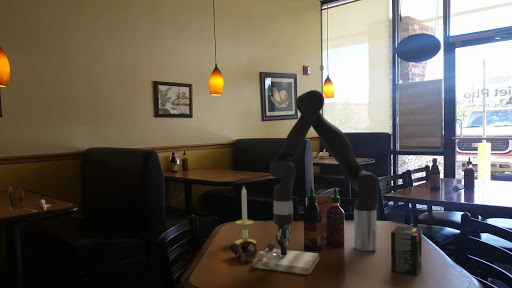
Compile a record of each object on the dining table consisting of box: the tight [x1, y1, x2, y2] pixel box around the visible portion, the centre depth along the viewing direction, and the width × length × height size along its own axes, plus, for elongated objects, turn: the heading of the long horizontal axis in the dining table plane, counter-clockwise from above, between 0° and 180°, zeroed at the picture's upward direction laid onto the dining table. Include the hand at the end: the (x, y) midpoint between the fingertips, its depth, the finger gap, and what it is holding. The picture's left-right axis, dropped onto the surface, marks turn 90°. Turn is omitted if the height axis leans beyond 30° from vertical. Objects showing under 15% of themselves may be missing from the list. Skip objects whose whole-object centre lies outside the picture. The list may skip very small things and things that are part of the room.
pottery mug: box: [229, 240, 259, 263], centre depth 160 cm, size 12×10×8 cm
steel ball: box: [269, 253, 278, 258], centre depth 155 cm, size 3×3×3 cm
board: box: [252, 248, 320, 275], centre depth 153 cm, size 22×16×2 cm
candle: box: [234, 185, 257, 247], centre depth 180 cm, size 10×10×27 cm
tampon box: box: [390, 225, 423, 276], centre depth 145 cm, size 11×9×15 cm
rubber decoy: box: [266, 241, 276, 250], centre depth 162 cm, size 3×3×3 cm
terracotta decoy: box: [255, 250, 265, 260], centre depth 151 cm, size 3×3×3 cm
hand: (284, 254), depth 153 cm, fingers closed
